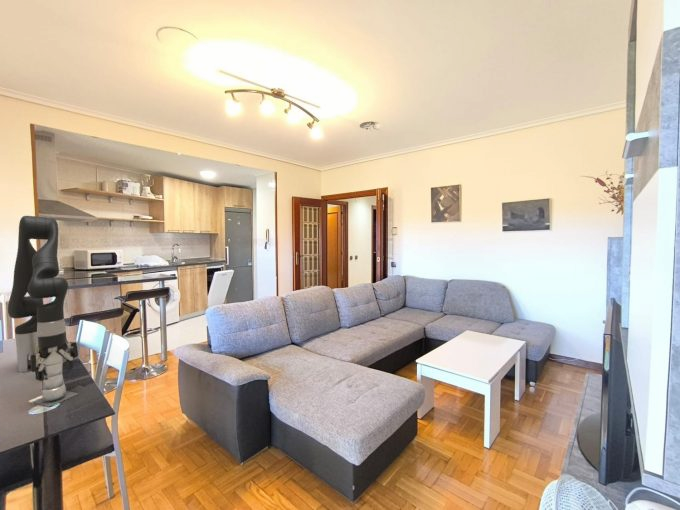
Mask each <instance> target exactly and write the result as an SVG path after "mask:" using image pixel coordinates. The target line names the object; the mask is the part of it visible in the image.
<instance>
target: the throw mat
mask: <svg viewBox="0 0 680 510" xmlns="http://www.w3.org/2000/svg"><path fill="white" fill-rule="evenodd" d="M73 396H74V397H75V396H79V393H77V392H72V391H68V390H66V393H65V395H64V396H63V397H62V398H60V399H57V400H54V401H45V400H43V397H42V395H39V396H37V397H35V398H32V399H30V400H28V403H30V402H31V403H30V404H34V403H35V404H34V405H38V404H39V405H38V406H42V405H44V406H43V407H45V406H47V407H46V408H51V407H54V406H55V404H56V405H58V404H60V403H62V401H63V402H65V401H67V400H69V399H71V397H72V398H74V397H73ZM64 400H65V401H64ZM57 403H58V404H57ZM53 405H54V406H53ZM50 406H51V407H50Z"/></svg>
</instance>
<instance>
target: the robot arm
mask: <svg viewBox="0 0 680 510" xmlns="http://www.w3.org/2000/svg"><path fill="white" fill-rule="evenodd" d="M31 240H44V241H45V240H47V241H46V242H45V243H44V245H42V246H41V247H40V248H39V249H38V250H36V248H35V247H33V244H32V242H31ZM58 246H59V224H58V221H57V220H56V219H55V218H53V217H46V216H33V215H24V216H22V217H21V218H20V220H19V224H18V240H17V252H16V258H15V262H14V271H13V281H12V288H11V291H10V296H9V299H8V304H7V313H8V316H9V317H10V318H12V319H22V318H28V317H30V318H29V319H28V320H27V321H25V322H23V323H21V324H19V325H17V326H16V327H15V328H14V334H15V335H14V336H15V348H16V360H17V369H18V370H17V371H18V372H19V373H26V372H32V373H34V374H35V380H36V381H38V382H43V380H44V373H43V368H44V367H45V366H44V365H45V364H46V362H47V360H48V358H49V357H51V356H53V355H54V354H55V352H50V353H48V348H52V347H56V346H57V348H58V350H57V352H58V353H60V354H61V355H62V356H63V360H64V363H65V364H64V366H65V370H66V371H68V372H70V371H72V369H73V367H74V366H73V359H75V358H78V357H79V351H78V344H77V342H76V341H69V342H68V343H67V341H68V340H67V328H66V327H67V326H66V322H65V313H64V305H65V299H66V296H67V293H68V289H69V282H68V280H67V279H66V278H64V277H63V276H62V277H60V276H59V274H60V267H59V261H58V248H59V247H58ZM58 276H59V277H58ZM26 295H28V296H26ZM48 298H54V300H53V301H51V302H47V303H45V304H44V300H43V299H48ZM37 346H38V347H39V352H38V353H37ZM68 349H69V353H68V352H66V351H67V350H68ZM38 356H40V357H41V358H44V359H45V358H46V359H45V361H43V362H42V361H40V360H41V358H40V359H39V361H38V362H37V358H38ZM40 364H41V365H40Z"/></svg>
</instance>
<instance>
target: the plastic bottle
mask: <svg viewBox="0 0 680 510" xmlns="http://www.w3.org/2000/svg"><path fill="white" fill-rule="evenodd" d="M57 350H58V348H57V346H56V347H52V348H48V353H50V352H55V354H54V355H53V356H51V357H49V358H48V360H47V362H46V364H45V365H44V366H45V367H44V368H43V373H44V380H43V381H42V391H41V396H42V397H43V400H45V401H54V400H57V399H60V398H62V397H63V396H64V395H65V393H66V391H67V388H66V384H65V382H64V381H65V380H64V375H63V373H64V372H63V371H64V370H63V369H64V368H63V367H64V366H63V365H64V358H63V356H62V355H61V354H60V353H58V352H57ZM45 359H46V358H45ZM45 359H44V358H41V360H40V361H42V362H43V361H45ZM40 365H41V364H40Z"/></svg>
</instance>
